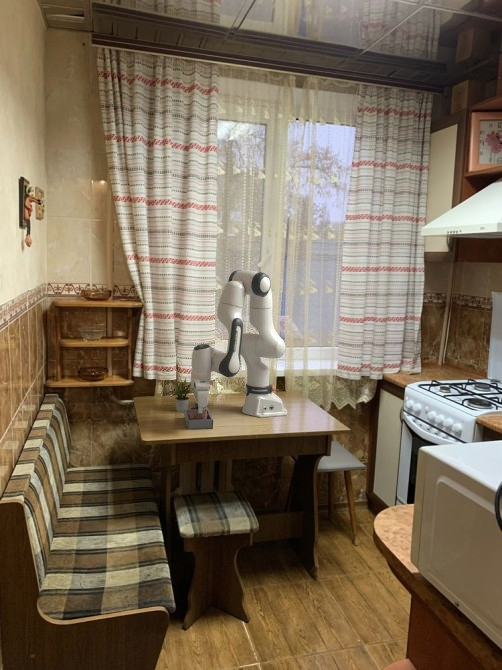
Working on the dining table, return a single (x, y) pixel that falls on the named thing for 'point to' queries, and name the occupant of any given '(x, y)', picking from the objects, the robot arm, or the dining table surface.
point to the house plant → (182, 396)
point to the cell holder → (198, 421)
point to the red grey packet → (197, 413)
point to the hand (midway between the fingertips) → (199, 410)
